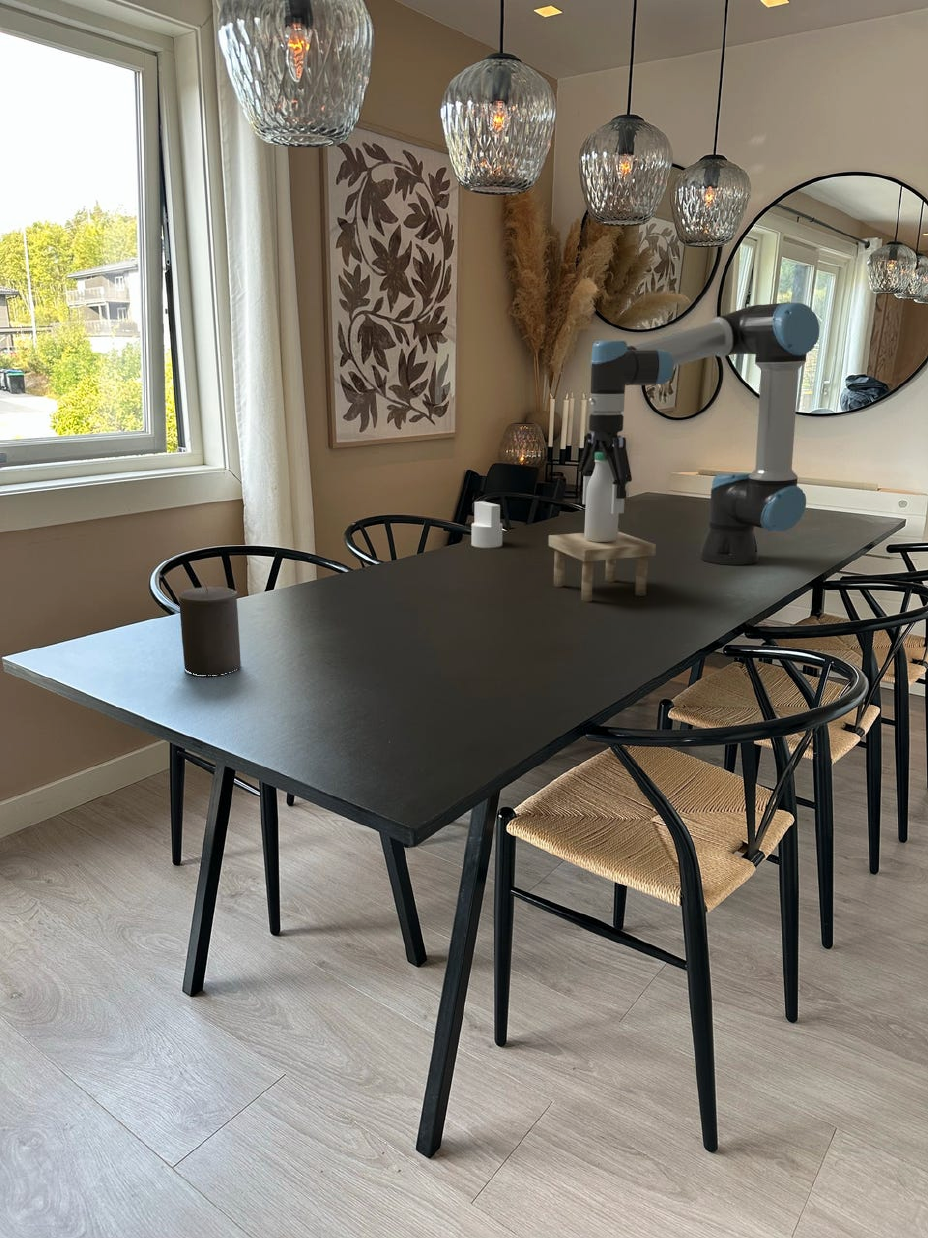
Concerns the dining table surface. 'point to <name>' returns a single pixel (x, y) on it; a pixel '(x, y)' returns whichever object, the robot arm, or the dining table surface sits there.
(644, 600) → the dining table surface
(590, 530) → the milk bottle
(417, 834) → the dining table surface
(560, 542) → the oak footstool
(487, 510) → the cylinder with rectangular tab
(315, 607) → the dining table surface
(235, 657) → the pillar candle
